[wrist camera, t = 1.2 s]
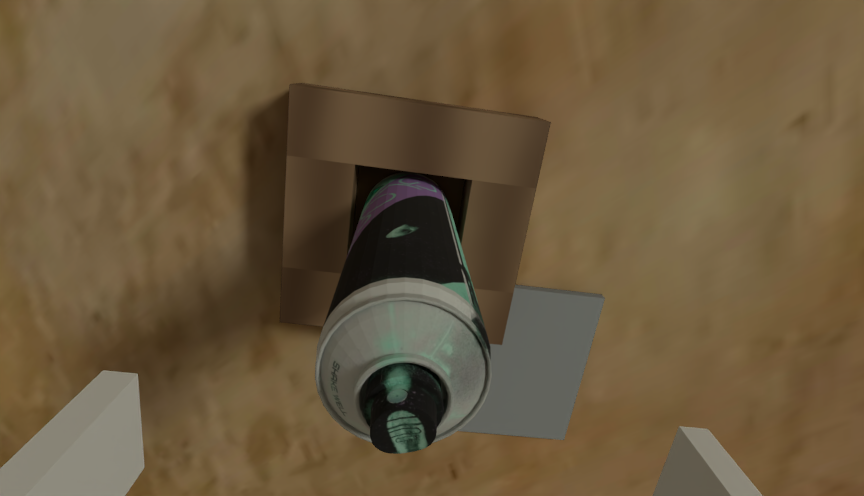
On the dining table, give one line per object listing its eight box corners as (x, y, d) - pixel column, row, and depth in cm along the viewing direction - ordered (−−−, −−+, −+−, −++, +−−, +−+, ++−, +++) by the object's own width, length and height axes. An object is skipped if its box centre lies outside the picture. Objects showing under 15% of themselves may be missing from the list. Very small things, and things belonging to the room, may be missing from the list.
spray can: (409, 153, 30) (407, 294, 11) (467, 216, 31) (554, 435, 12) (346, 211, 31) (245, 432, 12) (405, 270, 32) (399, 546, 14)
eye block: (290, 300, 33) (279, 322, 30) (301, 83, 28) (289, 84, 25) (494, 322, 34) (501, 344, 31) (536, 117, 29) (550, 122, 26)
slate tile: (407, 420, 36) (407, 426, 36) (429, 274, 32) (429, 278, 32) (561, 434, 38) (563, 439, 37) (601, 294, 34) (604, 298, 33)
